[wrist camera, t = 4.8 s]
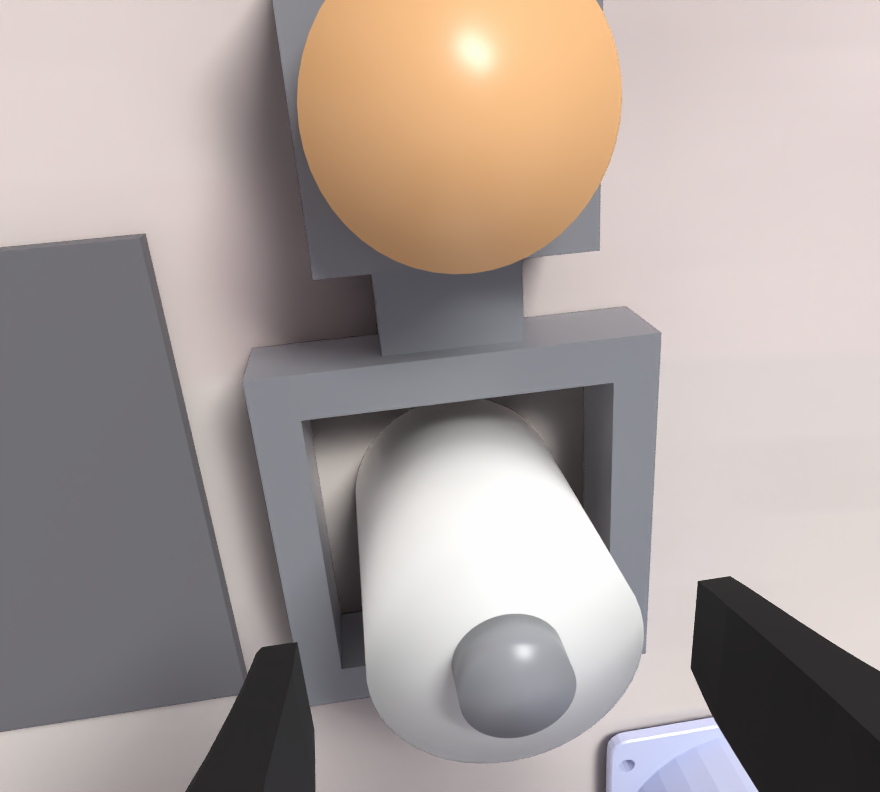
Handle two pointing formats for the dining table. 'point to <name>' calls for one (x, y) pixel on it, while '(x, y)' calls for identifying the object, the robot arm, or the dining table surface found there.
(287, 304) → the dining table surface
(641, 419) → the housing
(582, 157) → the plunger
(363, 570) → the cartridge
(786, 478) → the dining table surface
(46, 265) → the mat
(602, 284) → the dining table surface
